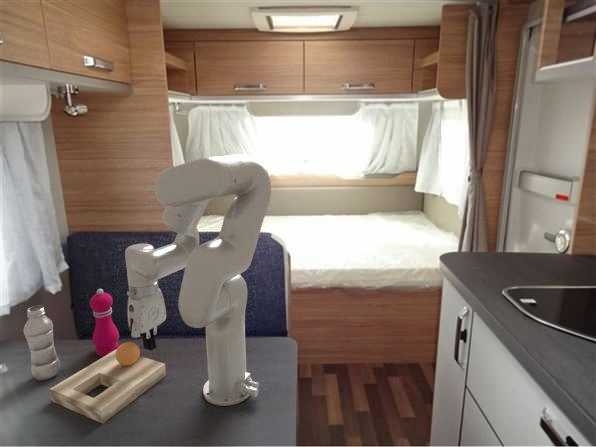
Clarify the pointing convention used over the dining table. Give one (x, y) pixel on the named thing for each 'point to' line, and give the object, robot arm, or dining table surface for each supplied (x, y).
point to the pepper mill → (104, 324)
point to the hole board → (110, 373)
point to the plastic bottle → (41, 344)
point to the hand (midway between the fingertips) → (149, 348)
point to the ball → (127, 353)
